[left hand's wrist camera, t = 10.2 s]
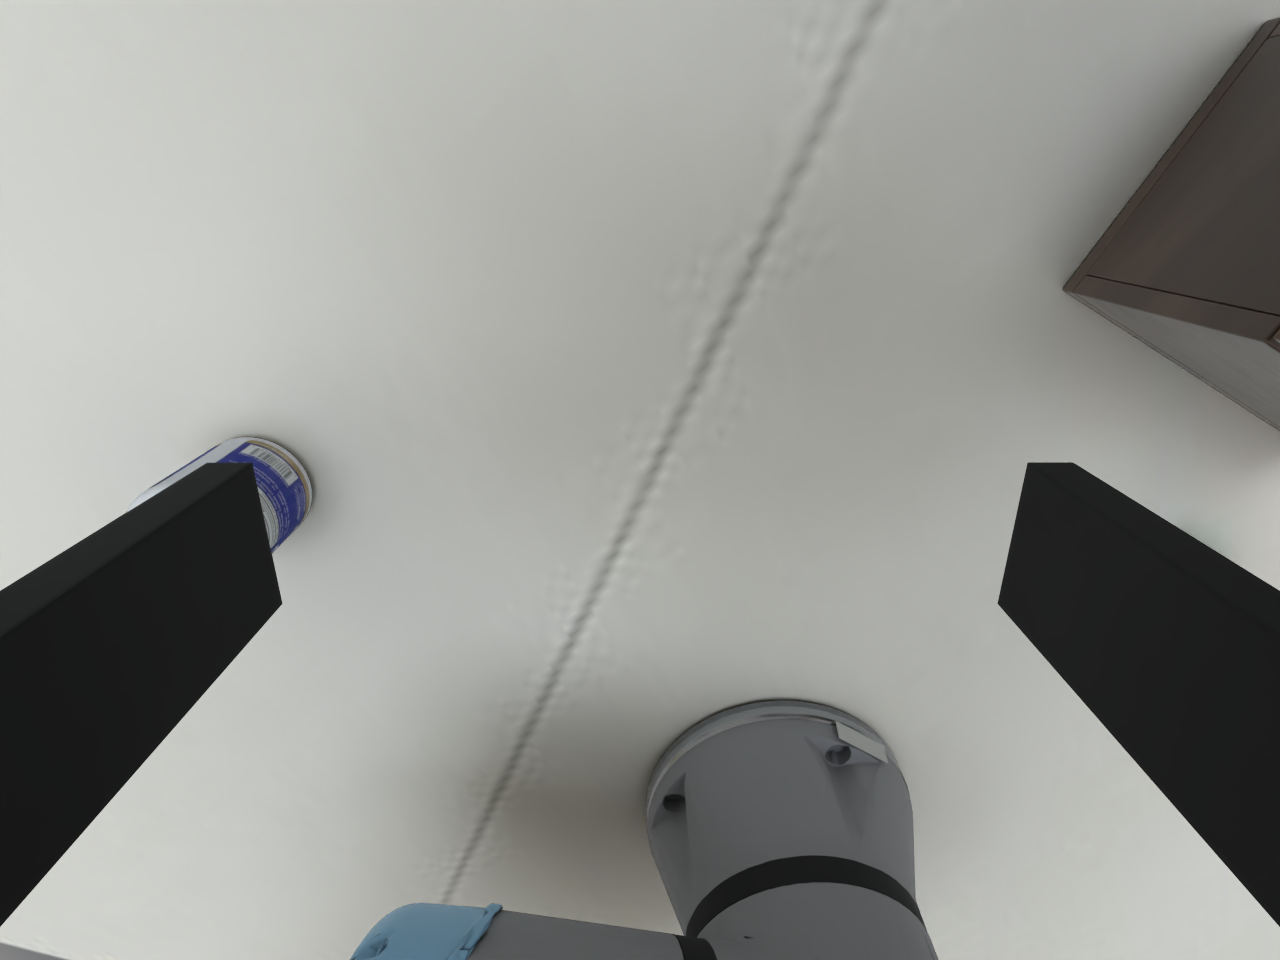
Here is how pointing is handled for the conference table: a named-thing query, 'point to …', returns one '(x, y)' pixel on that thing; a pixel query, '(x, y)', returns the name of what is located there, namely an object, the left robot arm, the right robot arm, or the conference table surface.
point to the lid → (1277, 336)
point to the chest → (1207, 241)
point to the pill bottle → (258, 482)
